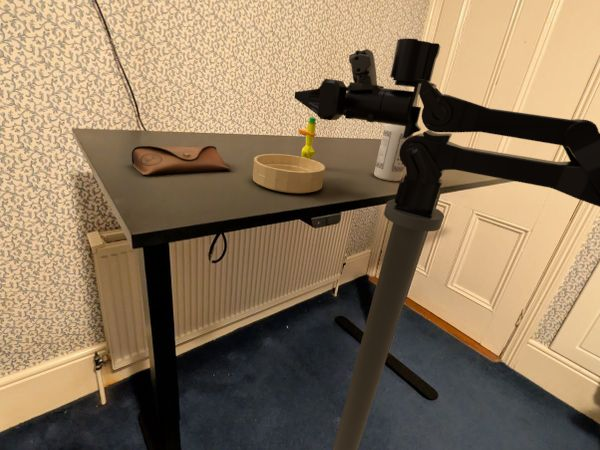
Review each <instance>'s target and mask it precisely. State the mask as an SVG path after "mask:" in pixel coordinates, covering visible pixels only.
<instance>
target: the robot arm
mask: <svg viewBox="0 0 600 450" xmlns="http://www.w3.org/2000/svg"><path fill="white" fill-rule="evenodd" d="M440 51H441V45H440V44H439V43H438V42H430V41H425V40H419V39H418V38H408V37H407V38H399V39H397V41H396V45H395V51H394V56H393V61H392V66H391V70H390V71H391V72H390V74H389V75H390V76H389V78H392V81H394V86H399V87H407V88H413V90H404V89H396V88H387V87H386V88H385V86H383V85H378V79H377V78H378V77H377V70H376V69H377V68H376V61H375V55H374V52H373V51H372V50H370V49H368V48H366V49H363V50H360V49H359V50H358V49H357V50H355V51H354V53H351V54H349V55H348V62H349V64H350V67H351V68H350V69H351V74H352V80H353V82H351V81H350V82H349V85H348V86H346V84H345V82H344V81H343V80H338V79H332V78H324V79H323V80H322V82H321V84H320V86H319V87H318V88H313V89H306V90H297V91H295V92H294V100H296V101H298V102H299V103H301V104H302V105H303V106H305V107H306V108H308V109H309V110H311V111H312V112H313V113H314V114H316V115H317V117H318V118H319V119H320V120H326V121H337V120H339V119H340V118H341V117H342V116H344V119H348V120H359V121H366V122H368V123H380V124H385V125H386V124H393V125H399V126H405V130H404V135H403V137H404V138H408V137H410V136H411V135H412V134H413V136H412V137H410V138H408V139H407V140H405V141H404V143H403V144H402V145H401V148H400V153H399V156H400V160H401V162H402V163H403V165H404V166H405V167H404V168H405V175H404V178H403V179H401V180H400V181H399V184H398V187H397V191H396V195H395V198H394V199H395V203H396V205H395V209H397V210H401V211H405V212H408V213H412V214H416V215H419V216H423V217H427V218H432V215H433V212H434V209H435V208H436V207H435V206H436V203H437V200H438V197H439V194H440V191H441V187H442V185H443V179H441V178H442V176H443V174H444V172H445V171H458V172H459V171H460V172H464V173H470V174H475V175H480V176H486V177H490V178H496V179H501V180H505V181H506V180H507V181H512V182H517V183H521V184H527V185H534V186H538V187H543V188H549V189H553V190H555V191H557V192H560V193H562V194H565V195H567V196H569V197H572V198H574V199H577V200H579V201H583V202H584V203H588V204H591V205H593V206H596V207H599V208H600V131H599V128H598V126H597V124H596V123H594V122H593V121H591V120H587V119H581V118H574V119H568V118H560V117H553V116H547V115H541V114H540V115H539V114H533V113H526V112H518V111H510V110H505V109H504V110H503V109H497V108H490V107H486V106H483V105H480V104H477V103H475V102H471V101H468V100H465V99H462V98H459V97H456V96H453V95H450V94H443V93H442V92H441V91H440V90H439V89H438V88H437V84H435V83H434V82H432V79H433V74H434V70H435V66H436V61H437V59H438V56H439V54H440ZM419 98H420V100H421V101H420V102H421V103H422V106H423V108H422V107H421V106H418V101H419ZM420 114H421V121H422V124H423V125H424V127H425V128H426V130H425V131H423V132H420V131H421V130H422V127H420V125H419V120H420ZM419 132H420V133H419ZM415 133H417V134H415ZM452 133H483V134H490V135H497V136H502V137H508V138H515V139H519V140H520V139H521V140H527V141H532V142H539V143H545V144H550V145H556V146H562V148H563V149H564V151H565V153H566V155H567V157H568V159H569V160H567V161H554V160H548V159H542V158H535V157H529V156H523V155H519V154H518V155H517V154H510V153H504V152H500V151H499V152H498V151H492V150H486V149H480V148H475V147H474V148H473V147H468V146H463V145H460V144H457V143H454V142H452V141H450V140H451V137H452V136H453V134H452Z"/></svg>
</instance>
